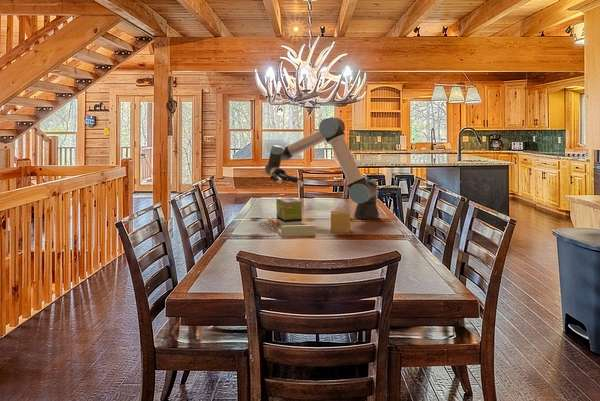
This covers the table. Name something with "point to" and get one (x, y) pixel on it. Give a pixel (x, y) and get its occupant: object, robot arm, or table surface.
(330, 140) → the robot arm
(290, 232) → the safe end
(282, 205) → the tea box
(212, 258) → the table surface
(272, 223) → the track rails
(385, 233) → the table surface
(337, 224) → the cheese
